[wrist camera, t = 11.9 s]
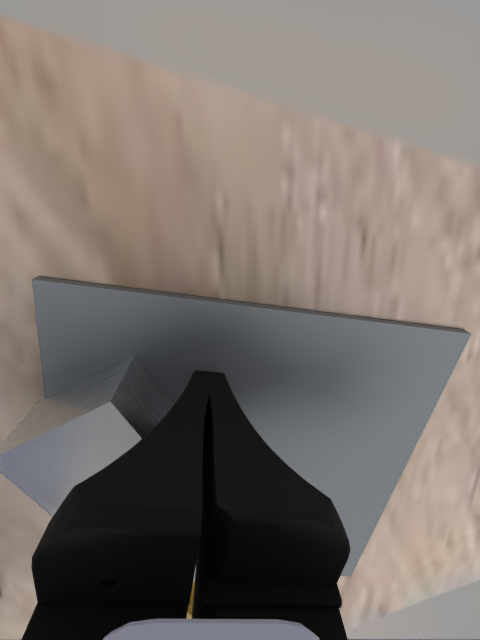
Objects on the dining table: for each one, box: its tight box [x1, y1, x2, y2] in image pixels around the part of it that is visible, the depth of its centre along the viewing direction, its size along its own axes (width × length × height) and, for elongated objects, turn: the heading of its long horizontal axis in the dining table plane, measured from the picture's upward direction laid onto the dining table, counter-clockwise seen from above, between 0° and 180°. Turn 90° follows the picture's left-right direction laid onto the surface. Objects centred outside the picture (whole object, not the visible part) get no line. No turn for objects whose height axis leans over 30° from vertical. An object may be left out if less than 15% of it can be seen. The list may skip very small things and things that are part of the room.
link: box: [0, 353, 196, 619], centre depth 14 cm, size 13×5×3 cm, turn 27°
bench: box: [32, 276, 471, 576], centre depth 14 cm, size 17×17×3 cm
